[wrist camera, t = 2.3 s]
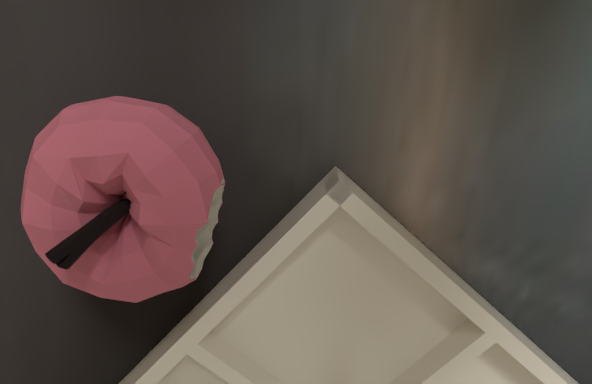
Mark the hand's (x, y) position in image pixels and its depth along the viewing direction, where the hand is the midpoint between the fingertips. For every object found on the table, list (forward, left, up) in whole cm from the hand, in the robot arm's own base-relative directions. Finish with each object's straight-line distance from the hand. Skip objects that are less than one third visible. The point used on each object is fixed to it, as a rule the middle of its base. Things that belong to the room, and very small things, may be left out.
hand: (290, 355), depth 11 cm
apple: (-4, -6, -19) cm, 20 cm away
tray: (+17, -13, -18) cm, 28 cm away
